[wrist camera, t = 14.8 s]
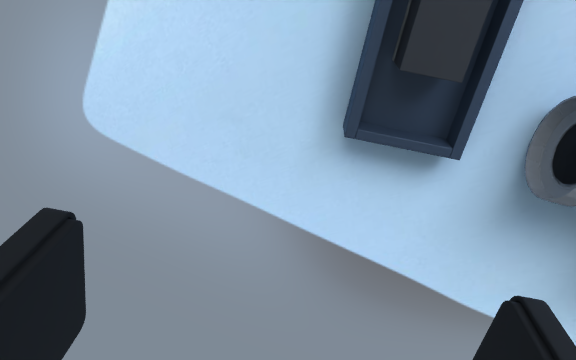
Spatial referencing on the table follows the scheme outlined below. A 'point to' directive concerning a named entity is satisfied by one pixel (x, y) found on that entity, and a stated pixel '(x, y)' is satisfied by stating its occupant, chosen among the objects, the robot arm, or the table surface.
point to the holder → (422, 87)
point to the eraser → (440, 37)
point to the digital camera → (554, 156)
